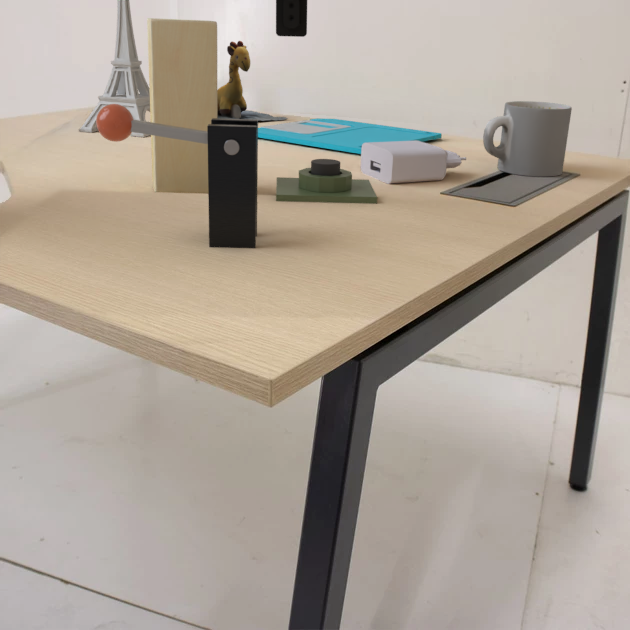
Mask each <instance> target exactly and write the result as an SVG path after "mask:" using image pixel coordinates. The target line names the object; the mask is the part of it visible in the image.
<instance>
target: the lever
mask: <svg viewBox="0 0 630 630" xmlns="http://www.w3.org/2000/svg"><path fill="white" fill-rule="evenodd" d="M96 126H97V129H98V131H97V132H99V134H100V135H101V136H102V138H104V139H105V140H107V141H109V142H116V143H118V142H123V141H125V140H126V139H128V138H129V137H131V136H130V135H131V133H132V132H135V133H141V134H147V135H150V136H151V135H154V136H160V137H166V138H172V139H178V140H185V141H191V142H197V143H203V144H208V133H207V131H202V130H195V129H189V128H183V127H177V126H171V125H165V124H158V123H152V122H150V121H147V120H146V121H140V120H134V119H133V116H132V114H131V113H130V111H129V110H128V109H127V108H125V107H124V106H122V105H119V104H109V105H106V106H105V107H103V108H102V109H101V110H100V111H99V113H98V115H97V118H96Z"/></svg>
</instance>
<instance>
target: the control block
mask: <svg viewBox="0 0 630 630" xmlns="http://www.w3.org/2000/svg"><path fill="white" fill-rule="evenodd" d="M275 189H276V190H275V201H276V202H293V203H295V202H296V203H297V202H298V203H331V204H332V203H334V204H336V203H337V204H372V205H373V204H375V205H376V204H378V196H377V194H376V192H375V190H374V188H373V186H372V183H371V181H370V180H369V179H359V178H358V179H355V178H353V173H352V172H351V171H349V170H347V169H343V168H340V175H336V176H320V175H313V174H311V167H305V168H303V169H299V170H298V177H283V176H282V177H281V176H280V177H276V188H275Z"/></svg>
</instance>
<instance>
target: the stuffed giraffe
mask: <svg viewBox="0 0 630 630" xmlns="http://www.w3.org/2000/svg"><path fill="white" fill-rule="evenodd" d="M226 52H227V54H228V55H229V56H230V58H229V64H228V76H229V78H228V82H227V83H225V84H224V85H222V86H221V87H219V88H217V118H221V119H255V120H258V122H259V121H261V122H265V121H285V120H288V119H289V118H288V117H286V116H273V115H270V114H269V113H263V112H258V111H254V110H248V109H247V108H248V105H247V101H246V99H245V97H244V95H243V92H244V90H243V86H242V80H241V77H240V73H239V69H241V71H242V72H246V73H248V71H249V70H250V68H251V57H250V53H249V51H248V49H247V46H246V45H245V44H244V42H243V41H241V40H238V41H237V43H236V42H235V41H230V42H229V45H227V47H226Z"/></svg>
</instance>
